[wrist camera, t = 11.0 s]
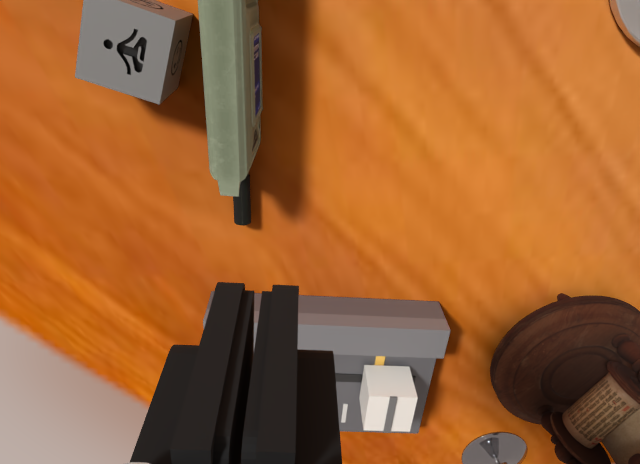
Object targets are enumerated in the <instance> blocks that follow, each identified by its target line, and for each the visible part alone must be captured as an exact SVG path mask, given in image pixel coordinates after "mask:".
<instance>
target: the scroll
mask: <svg viewBox="0 0 640 464" xmlns="http://www.w3.org/2000/svg"><path fill="white" fill-rule="evenodd" d="M557 299H558V301H557V302H554V303H551V304H549V305H546V306H544V307H542V308H540V309H538V310H536V311H534V312H532V313H531V314H529V315H528V316H526V317H525V318H523V319H522V320H521V321H519V322H518V323H517V324H516V325H515V326H514V327H513V328H512V329H511V330H510V331H509V332H508V333H507V334H506V335H505V336H504V338H503V339H502V340H501V342H500V343H499V345H498V347H497V348H496V351H495V353H494V355H493V358H492V362H491V367H490V376H491V382H492V385H493V388H494V390H495V392H496V394H497V397H498V399H499V400H500V402H501V403H502V405H503V406H504V407H505V408H506V409H507V410H508V411H509V412H511V413H512V414H513V415H515V416H517V417H519V418H521V419H523V420H525V421H528V422H532V423H536V424H541V425H542V426H543V427H544V428H545V429H546V430H547V431H548V432H549V433H550V434H551V435H552V437H551V441H552V443H554V444H556V445H555V453H556V456H557V457H558V459H559V460H560V461H562V462H563V463H566V464H611V462H610V459H609V457H608V455H607V453H606V451H605V450H604V448H603V447H602V446H601V444H600V443H599V442H601V441H602V443H603V444H604V446H605V447H606V449H607V450H608V452H609V453H610V455H611V457H612V458H613V460H614V462H615V463H616V464H640V311H638V310H637V309H636V308H635V307H633V306H632V305H630V304H628V303H626V302H624V301H621V300H618V299H615V298H611V297H605V296H579V297H573V298H570V297H569V296H567V295H565V294H562V293H561V294H559V295H558V296H557Z"/></svg>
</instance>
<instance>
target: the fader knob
mask: <svg viewBox="0 0 640 464" xmlns="http://www.w3.org/2000/svg"><path fill="white" fill-rule="evenodd" d="M417 399H418V397H417V393H416V390H415V386H414V382H413V378H412V375H411V371H410V367H409V366H382V365H364V370H363V377H362V383H361V390H360V396H359V400H360V407H361V415H362V423H363V430H367V431H383V433H390V432H391V431H402V432H410V429H411V425H412V420H413V416H414V412H415V407H416V403H417Z"/></svg>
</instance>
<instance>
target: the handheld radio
mask: <svg viewBox="0 0 640 464" xmlns="http://www.w3.org/2000/svg"><path fill="white" fill-rule="evenodd" d="M198 10H199V25H200V39H201V53H202V68H203V82H204V96H205V111H206V125H207V139H208V153H209V168H210V173H211V175H212V177H213V178H214V179H215V180H218V185H219V191H220V195H224V196H233V201H234V222H235V224H237V225H247V224H250V223H251V204H250V175H249V170H250V168H251V165H252V163H253V160H254V158H255V155H256V153H257V150H258V148H259V145H260V141H261V119H260V114H261V111H262V110H263V104H262V40H261V30H262V27H261V26H260V25H259V7H258V0H198Z"/></svg>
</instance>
